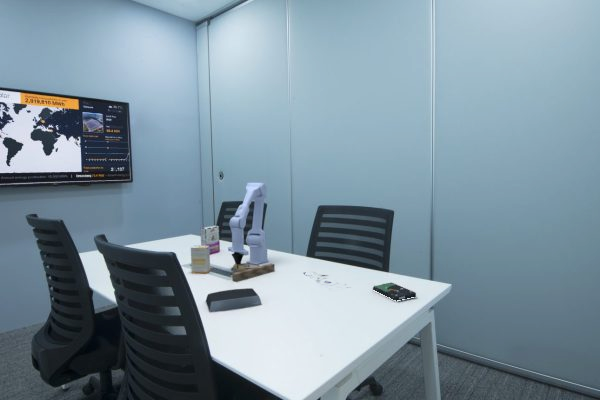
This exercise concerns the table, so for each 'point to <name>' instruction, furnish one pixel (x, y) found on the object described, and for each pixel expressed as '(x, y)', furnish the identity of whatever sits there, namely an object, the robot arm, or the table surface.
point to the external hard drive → (232, 299)
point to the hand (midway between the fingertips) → (238, 267)
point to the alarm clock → (243, 267)
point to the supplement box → (200, 259)
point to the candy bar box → (210, 238)
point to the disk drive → (394, 291)
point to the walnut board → (253, 272)
